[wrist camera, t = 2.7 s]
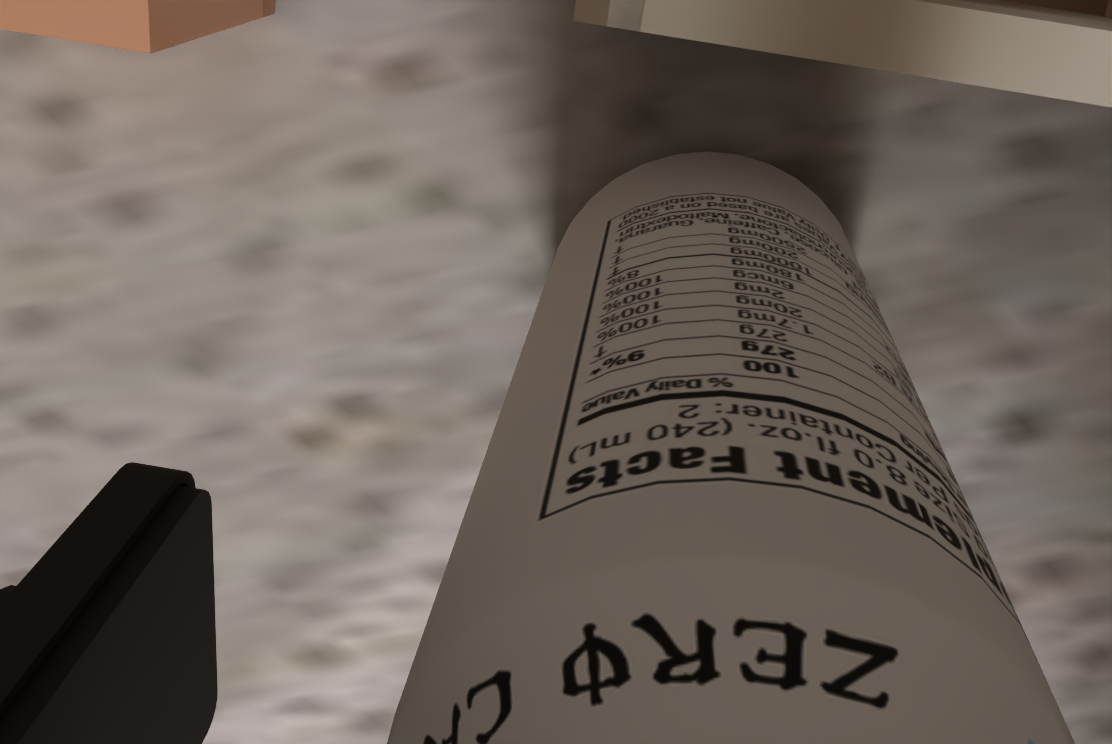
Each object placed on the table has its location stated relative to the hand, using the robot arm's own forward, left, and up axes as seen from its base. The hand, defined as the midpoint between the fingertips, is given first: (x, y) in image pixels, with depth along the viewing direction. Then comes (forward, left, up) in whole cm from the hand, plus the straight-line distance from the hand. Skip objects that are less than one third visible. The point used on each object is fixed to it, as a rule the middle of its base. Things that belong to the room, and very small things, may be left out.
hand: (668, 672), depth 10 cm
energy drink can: (-1, +1, -12) cm, 12 cm away
